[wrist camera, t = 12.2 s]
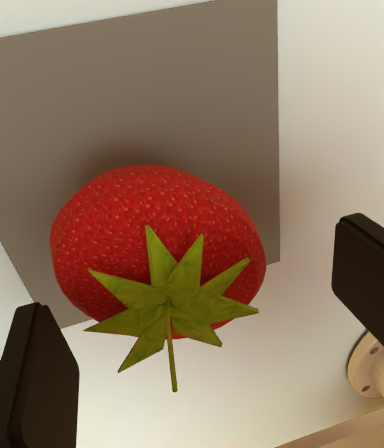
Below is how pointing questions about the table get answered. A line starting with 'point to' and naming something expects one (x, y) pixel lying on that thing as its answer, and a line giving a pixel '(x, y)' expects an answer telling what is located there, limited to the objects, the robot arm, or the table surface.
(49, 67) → the mat
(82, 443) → the table surface
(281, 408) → the table surface
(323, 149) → the table surface
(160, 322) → the strawberry
